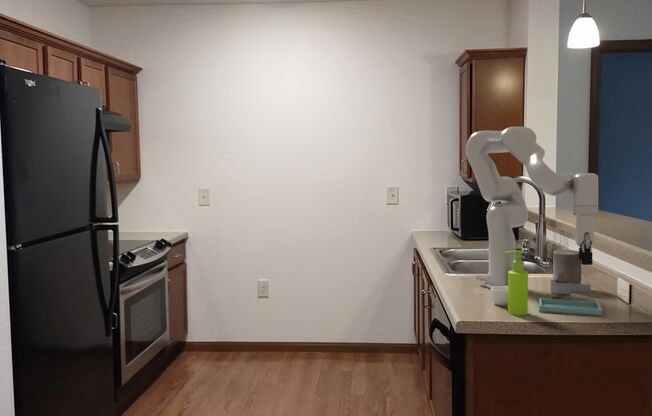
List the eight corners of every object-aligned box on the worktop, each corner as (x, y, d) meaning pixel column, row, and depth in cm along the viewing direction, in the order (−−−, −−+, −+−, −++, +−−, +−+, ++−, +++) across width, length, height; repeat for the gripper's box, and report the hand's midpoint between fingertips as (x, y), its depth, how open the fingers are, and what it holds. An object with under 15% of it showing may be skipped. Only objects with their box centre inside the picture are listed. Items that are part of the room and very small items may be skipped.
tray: (539, 311, 180) (539, 305, 180) (538, 303, 190) (539, 298, 190) (601, 316, 174) (602, 310, 174) (598, 307, 184) (598, 301, 183)
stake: (548, 303, 189) (549, 271, 188) (547, 298, 197) (548, 266, 196) (574, 305, 187) (575, 272, 186) (572, 299, 194) (573, 268, 193)
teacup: (519, 306, 187) (519, 290, 186) (497, 308, 185) (497, 291, 185) (504, 299, 197) (504, 283, 196) (483, 300, 195) (483, 285, 195)
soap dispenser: (501, 311, 182) (502, 249, 180) (522, 310, 182) (523, 248, 180) (509, 316, 176) (510, 252, 174) (530, 315, 176) (531, 251, 175)
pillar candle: (583, 287, 212) (583, 247, 211) (578, 292, 204) (578, 251, 203) (555, 284, 217) (556, 245, 216) (550, 289, 209) (550, 249, 208)
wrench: (551, 293, 189) (551, 282, 189) (550, 288, 195) (550, 278, 195) (591, 295, 185) (591, 285, 185) (589, 291, 191) (589, 281, 191)
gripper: (571, 208, 196) (571, 257, 197) (575, 213, 180) (575, 266, 181) (595, 208, 193) (595, 258, 194) (601, 212, 177) (601, 267, 178)
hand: (585, 262), depth 188 cm, fingers open, 9 cm apart
